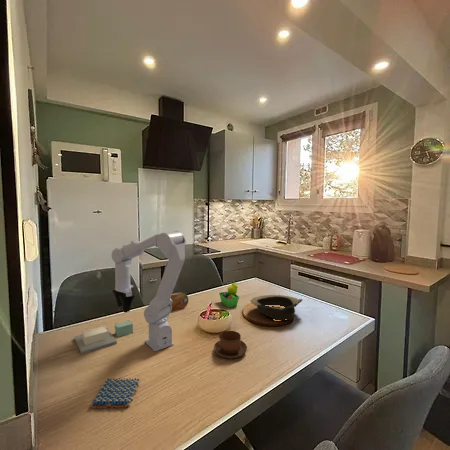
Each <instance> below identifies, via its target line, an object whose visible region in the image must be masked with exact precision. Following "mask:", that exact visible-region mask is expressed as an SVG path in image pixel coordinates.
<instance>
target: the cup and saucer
mask: <svg viewBox="0 0 450 450" xmlns="http://www.w3.org/2000/svg"><path fill="white" fill-rule="evenodd" d="M218 337H219V340H218V341H217V342H215V344H214V345H213V349H214V351H215V353H216V354H218V355H219V356H220V357H223V358H228V359H236V358H239V357H241V356H243V355H244V354H245V353H246V352H247V349H248V347H247V344H246V343H245V342H244V341H243V340H242V338H241V334H240V333H239V332H238V331H235V330H227V331H226V330H225V331H223V332H220V333H219V334H218Z"/></svg>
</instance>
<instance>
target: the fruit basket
mask: <svg viewBox="0 0 450 450" xmlns="http://www.w3.org/2000/svg"><path fill="white" fill-rule="evenodd" d="M238 288H239V287H238V284H237V283H236V282H232V283H231V284H230V285H228V287H227V291H226V290H225V291H222V292H218V295H219V297H220V301H221V303H222V304H223V305H224V306H226V307H227V308H231V307H237V306H238V302H239V299H240V296H239V295H237V293H238Z"/></svg>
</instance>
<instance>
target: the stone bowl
mask: <svg viewBox="0 0 450 450" xmlns="http://www.w3.org/2000/svg"><path fill="white" fill-rule="evenodd" d="M302 302H303V299H302V298H299V299H298V298H297V297H293V296H290V295H283V294H269V295H259V296H255V297H252V298H251V300H250V303H251V304H253V305H254V306H255V307H257V310H258V311H259V312H260V313H263V314H265V315H266V316H267V317H271V319H272V318H273V319H275V320H285V319H290V318H291V319H293V316H294V315H295V312H296V309H295V308H296V307H297V306H298V305H299V304H300V303H302ZM265 305H280V306H284V307H285V308H280V307H274V306H272V307H269V306H265ZM291 319H290V320H291Z"/></svg>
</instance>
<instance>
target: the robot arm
mask: <svg viewBox="0 0 450 450" xmlns="http://www.w3.org/2000/svg"><path fill="white" fill-rule="evenodd" d="M186 244H187V239H186V237H185V235H184V233H183V232H182V231H180V230H174V231H170V232H161V233H157V234H154V235H153V236H151V237H148V238H146V239H145V240H142V241H140V240H131V241H130V243H128V244H123V245H122V247H115V248H114V249H113V250H112V252H111V259H112V260H113V262H114V272H115V273H114V275H115V278H114V279H115V281H114V282H115V283H114V284H115V288H114V289H113V290H112V293H113V295H114V298H115V299H116V304H117V307H118V308H120V307H122V311H123V313H129V312H130V310H131V305H132V302H133V300H134V298H135V295H136V294H134V293H133V291H132V288H133V289H134V284H133V285H132V284H131V264H132V260H133V259H134V258H136V257H138V256H142V255H143V253H144V252H145V250H148V249H150V248H153V247H155V248H158V249H159V250H160V252H161V253H162V254H163V256H164V257H166V259H167V260H168V261H167V264H166V266H165V270H164V273H163V276H162V277H161V280H160V284H159V286H158V289H157V292H156V293H155V294H156V295H155V296H154V297H153V298H152V300H151V301H150V302H149V303H148V306H146V308H145V309H144V311H143V317H144V319H145V321H146V322H147V323H148V338H146V339H145V340H144V342H145V343H146V344H147V346H149V347H150V349H152V350H153V351H154V352H157V351H160V350H163V349H165V348H168V347H171V346H173V345H175V343H174V341H173V331H172V327H171V326H170V324H169V320H168V319H169V317H170V316H169V315H170V314H171V313H172V312H171V310H172V307H171V305H172V302H173V301H172V300H171V295H172V294H173V292H174V290H175V287H176V285H177V281H178V279H179V277H180V273H181V271H182V269H183V266H184V263H185V261H186V250H185V249H186Z"/></svg>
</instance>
